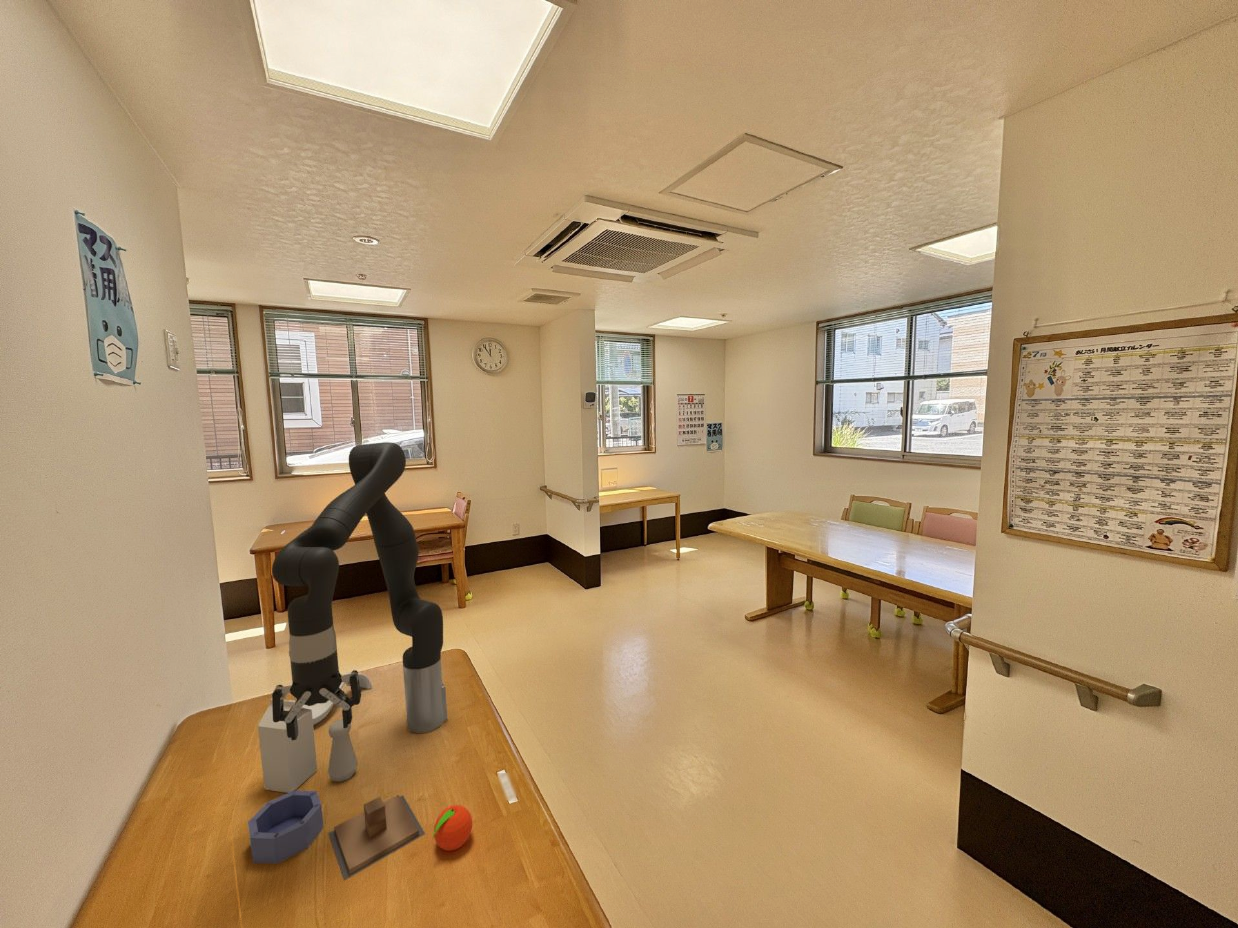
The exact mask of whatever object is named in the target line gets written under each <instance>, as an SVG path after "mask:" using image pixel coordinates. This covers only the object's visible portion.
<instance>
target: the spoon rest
mask: <svg viewBox="0 0 1238 928" xmlns="http://www.w3.org/2000/svg"><path fill="white" fill-rule="evenodd" d="M351 672H352V671H347V672H344V673H342V674H341V675H342V676H343V675H347V674H351ZM358 676H359V683H360V688H361V689H362V688H363V689H366V690H370V689H372V688H373V686H372V682H371V680H370V678H368V676H367V675H365V674H364V673H359V672H358ZM344 685H346V683H345V682H342V683H341V685H340V686H339V688H340V689H342V688H343V687H344ZM342 690H343V689H342ZM334 705H335V704H334V703H332V702H331V701H330V700H329V701H327V703H322V704H320V703H317V704H315V705H313V706H308V705H303V706H302V708H306V709H311V710H312V718H313V726H315V725H317V724H319V722H321V721H323V720H324V719H325V717H327V715H328V714H329V713H330V711H331V709H332V708H333V706H334Z"/></svg>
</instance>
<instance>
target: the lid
mask: <svg viewBox="0 0 1238 928" xmlns="http://www.w3.org/2000/svg"><path fill="white" fill-rule="evenodd" d="M400 796H401V795H399V794H398V795H395V796H393V797H391V798H389V799H387V800H385V801H384V800H383V799H382V797H381V796H379V797H376V798H374V799H372V800H369V801H368V802H366V803H365V804H363V812H361V813H360V814H357V815H355V816H353V817H352V818H349V819H348V820H345V821H343V822H342V823H340V824H337V825H336V826H334V827H333V828H334V831H335V834H336V837H337V840H338V843H339V846H340V848H341V851H342V854H343V857H344V860H345V863H346V865H347V868H348V871H349V874H352V873H354V872H355V871H357V870H359V869H361V868H362V867H364V866H366V865H368V864H369V863H371V862H373V861H375V860H376V859H378V858H380V857H382V856H383V855H385V854H387V853H389V852H390V851H392V850H394V849H396V848H397V847H399V846H401V845H403V844H404V843H406V842H408V841H410V840H411V839H413V838H415V837H417V836H418V835H419V830H418V828H417V826H416V825H415V823H414V821H413V819H412V818H411V816H410V814H409V812H408V810H407V809H406V807H405V805H404V803H403V802H402V800H401V798H400Z"/></svg>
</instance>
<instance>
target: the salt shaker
mask: <svg viewBox="0 0 1238 928" xmlns="http://www.w3.org/2000/svg"><path fill="white" fill-rule="evenodd" d="M351 730H352V724H349V725H348V728H343V718H342V719H338V720H336V721H333V723H331V724H330V726H329V727H328V735H329V737H330V738H332V741H331V748H330V755H329V760H328V761H329V762H328V770H327V773H328V776H329V778H330V780H331V781H332V782H333V783H337V782H338V783H341V782H344V781H347V780H348V779H351V778H352V777H353V775H354V774H355V773H356V770H357V767H358V760H357V759H358V758H357V756H356V752H355V749H354V746H353V742H352V738H351V736H350V732H351Z"/></svg>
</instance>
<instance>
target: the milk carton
mask: <svg viewBox="0 0 1238 928" xmlns="http://www.w3.org/2000/svg"><path fill="white" fill-rule="evenodd" d="M295 701H296V700H293V699H290V700H286V699H284V711H289V710H290V708H291V707H292V706H293V704H294V703H295ZM296 716H297V723H298V737H297V739H296V740H291V738H288V736H287V729H286V723H285V722H284V721H279V722H273V709H272V698H270V699H269V705H268V707H267V709H266V710H265V713H264V714H263V716H262V718H261V719H260V721H259V723H258V725H257V732H258V740H259V750H260V759H261V768H262V770H261V771H262V777H263V787H264V790H267V791H271V792H272V791H273V792H278V793H285V794H288V793H290V792H292V791H294V790H298V788H299V787H301V785H303V784H304V783H305V782H306V781H307V780H308V779H310V777H312V775H314V774H315V773H316V772H317V771H318V761H317V752H316V743H315V732H314V730H315V729H314V725H313V718H312V710H311V709H306V708H301V709H300V711H299V712H298V713H297V714H296Z"/></svg>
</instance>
